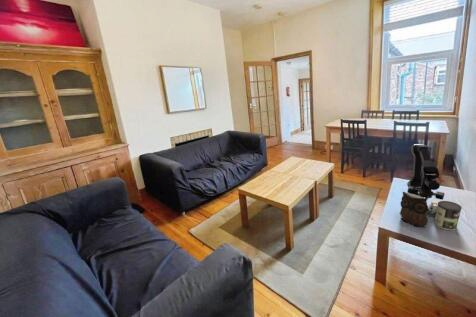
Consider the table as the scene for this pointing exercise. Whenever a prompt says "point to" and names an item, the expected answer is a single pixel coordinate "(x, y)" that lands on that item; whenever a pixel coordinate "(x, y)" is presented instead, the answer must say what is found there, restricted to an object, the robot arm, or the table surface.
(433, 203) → the fader orange
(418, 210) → the owl
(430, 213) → the panel
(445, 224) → the coffee can
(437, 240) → the table surface
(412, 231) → the table surface
